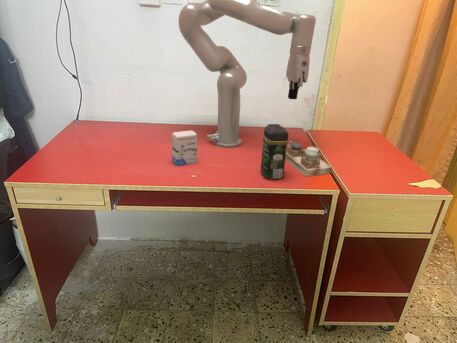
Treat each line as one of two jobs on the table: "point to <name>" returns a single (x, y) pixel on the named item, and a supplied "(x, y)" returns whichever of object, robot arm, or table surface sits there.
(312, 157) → the sage button
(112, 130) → the table surface
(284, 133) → the coffee jar
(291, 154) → the switch board
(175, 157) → the ink box
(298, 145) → the charcoal button
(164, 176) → the table surface
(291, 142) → the car toy
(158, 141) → the table surface
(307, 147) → the white button
